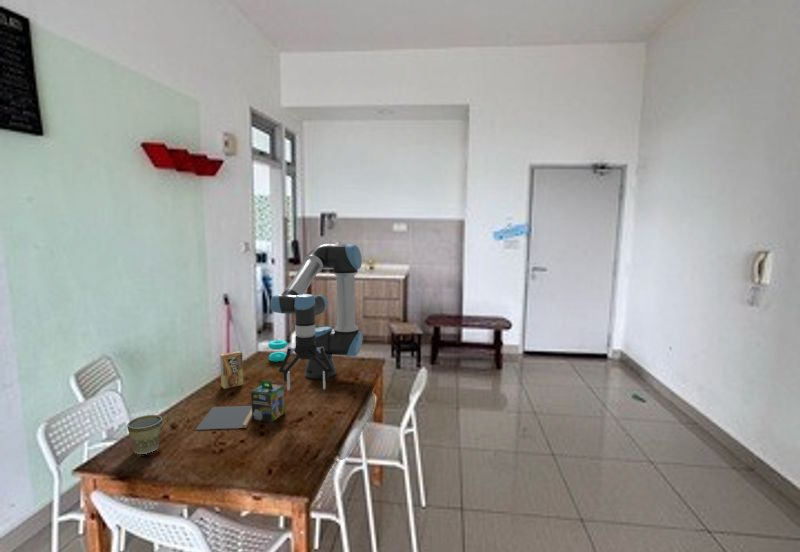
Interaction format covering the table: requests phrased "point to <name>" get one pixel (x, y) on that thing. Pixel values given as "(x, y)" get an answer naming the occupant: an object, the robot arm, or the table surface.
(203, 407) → the table surface
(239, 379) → the candy box
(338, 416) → the table surface
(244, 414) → the mat
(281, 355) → the donuts
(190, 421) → the table surface
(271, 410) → the chalk box
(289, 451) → the table surface
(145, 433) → the ceramic cup
